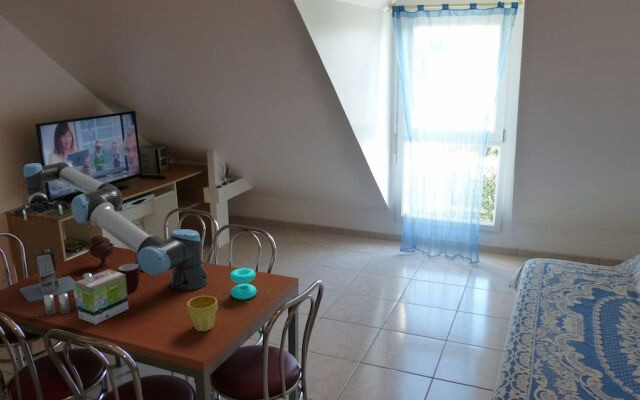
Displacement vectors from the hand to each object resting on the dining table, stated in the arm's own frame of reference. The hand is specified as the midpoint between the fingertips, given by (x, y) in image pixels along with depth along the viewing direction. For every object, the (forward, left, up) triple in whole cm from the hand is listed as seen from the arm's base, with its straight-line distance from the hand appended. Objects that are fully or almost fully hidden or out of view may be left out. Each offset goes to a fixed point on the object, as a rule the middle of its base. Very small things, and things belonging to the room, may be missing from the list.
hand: (43, 214), depth 236 cm
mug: (-29, -21, -31) cm, 47 cm away
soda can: (-10, -36, -31) cm, 48 cm away
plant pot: (-77, -29, -31) cm, 88 cm away
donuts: (-64, -54, -31) cm, 89 cm away
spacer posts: (-24, 0, -31) cm, 39 cm away
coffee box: (-6, +3, -30) cm, 31 cm away
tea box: (-43, -6, -31) cm, 53 cm away
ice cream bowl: (+5, -23, -31) cm, 39 cm away
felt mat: (-6, +3, -31) cm, 31 cm away
